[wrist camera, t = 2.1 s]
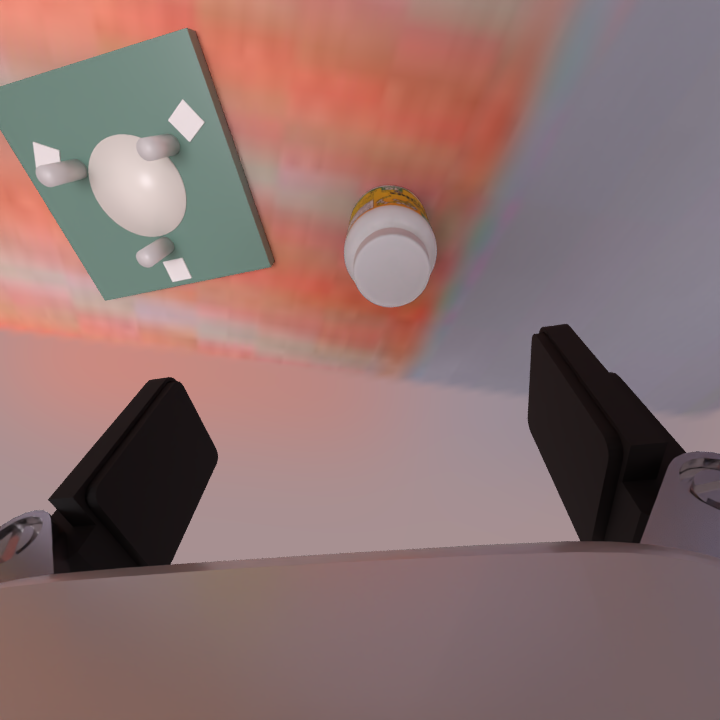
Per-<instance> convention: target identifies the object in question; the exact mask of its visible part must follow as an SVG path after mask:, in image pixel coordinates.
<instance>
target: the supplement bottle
mask: <svg viewBox="0 0 720 720" xmlns="http://www.w3.org/2000/svg"><path fill="white" fill-rule="evenodd" d="M436 256H437V244H436V239H435V236H434V233H433V230H432V228H431V225H430V223H429V221H428V218H427V215H426V213H425V210H424V208H423V206H422V204H421V202H420V201H419V199H418V198H417V197H416V196H415V195H414V194H413V193H412V192H410V191H409V190H407V189H405V188H402V187H399V186H391V185H384V186H379V187H375V188H373V189H371V190H369V191H368V192H366V193H365V194H364V195H363V196H362V197H361V198H360V199H359V200H358V202H357V203H356V205H355V207H354V209H353V212H352V215H351V218H350V223H349V227H348V231H347V236H346V240H345V245H344V260H345V265H346V268H347V271H348V273H349V275H350V276H351V278H352V279H353V281H354V282H355V284H356V286H357V288H358V290H359V291H360V293H361V294H362V295H363V296H364V297H365V298H366V299H368V300H369V301H370V302H372V303H374V304H376V305H379V306H383V307H399V306H402V305H405V304H408V303H410V302H412V301H413V300H415V299H416V298H417V297H418V296H419V295H420V294H421V293H422V292H423V290H424V289H425V287H426V285H427V283H428V280H429V277H430V274H431V272H432V270H433V268H434V265H435V262H436Z"/></svg>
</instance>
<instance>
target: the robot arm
mask: <svg viewBox="0 0 720 720" xmlns="http://www.w3.org/2000/svg"><path fill="white" fill-rule="evenodd" d="M528 405H529V406H528V424H529V428H530V431H531V434H532V436H533V438H534V440H535V442H536V444H537V446H538V449H539V451H540V453H541V455H542V458H543V460H544V462H545V464H546V467H547V469H548V471H549V473H550V475H551V477H552V480H553V482H554V484H555V486H556V488H557V491H558V493H559V495H560V497H561V499H562V502H563V504H564V506H565V508H566V510H567V513H568V515H569V517H570V519H571V521H572V524H573V526H574V528H575V530H576V532H577V535H578V536H579V539H580V541H578V542H576V541H574V542H573V541H572V542H570V541H566V542H541V543H518V544H495V545H473V546H457V547H440V548H424V549H406V550H389V551H374V552H373V551H372V552H355V553H340V554H323V555H308V556H292V557H277V558H262V559H246V560H232V561H217V562H202V563H187V564H174V565H170V564H171V562H172V560H173V558H174V555H175V553H176V551H177V549H178V547H179V545H180V542H181V540H182V538H183V536H184V534H185V531H186V529H187V527H188V525H189V523H190V521H191V518H192V516H193V514H194V511H195V510H196V507H197V505H198V503H199V501H200V499H201V497H202V494H203V492H204V490H205V488H206V486H207V483H208V481H209V479H210V477H211V475H212V473H213V470H214V468H215V466H216V464H217V460H218V454H217V450H216V448H215V446H214V444H213V442H212V440H211V438H210V436H209V434H208V432H207V431H206V429H205V427H204V425H203V423H202V421H201V419H200V417H199V415H198V413H197V411H196V409H195V407H194V405H193V403H192V402H191V400H190V398H189V396H188V394H187V392H186V390H185V388H184V386H183V385H182V384H181V383H180V382H178V381H176V380H175V379H174V378H171V377H168V378H161V379H153V380H149V381H148V382H147V383H146V384H145V385H144V387H143V388H142V389H141V390H140V391H139V392H138V394H137V395H136V396H135V397H134V398H133V400H132V401H131V402H130V403H129V404H128V406H127V407H126V408H125V409H124V410H123V412H122V413H121V414H120V415H119V416H118V417H117V419H116V420H115V421H114V422H113V423H112V425H111V426H110V427H109V428H108V429H107V430H106V432H105V433H104V434H103V435H102V436H101V438H100V439H99V440H98V441H97V442H96V443H95V445H94V446H93V447H92V448H91V449H90V451H89V452H88V453H87V454H86V455H85V457H84V458H83V459H82V460H81V461H80V463H79V464H78V465H77V466H76V467H75V468H74V470H73V471H72V472H71V473H70V474H69V475H68V477H67V478H66V479H65V480H64V481H63V483H62V484H61V485H60V486H59V487H58V489H57V490H56V491H55V492H54V493H53V494H52V496H51V497H50V498H49V499H48V500H49V501H50V502H51V503H52V504H53V505H54V507H56V509H57V510H56V511H55V512H54V514H53V515H52V516H51V515H50V514H49V513H48V512H45V511H43V510H36V511H31V512H28V513H24V514H22V515H20V516H18V517H15V518H13V519H11V520H10V521H8V522H7V523H5V524H3V525H2V526H0V720H720V454H717V453H713V452H699V451H696V452H690V453H686V452H685V451H684V450H683V449H682V447H681V446H680V445H679V444H678V443H677V442H676V441H675V439H674V438H673V437H672V436H671V435H670V434H669V433H668V431H667V430H666V429H665V428H664V427H663V426H662V425H661V424H660V422H659V421H658V420H657V419H656V418H655V416H654V415H653V414H652V413H651V412H650V411H649V410H648V408H647V407H646V406H645V405H644V404H643V403H642V402H641V400H640V399H639V398H638V397H637V396H636V395H635V394H634V392H633V391H632V390H631V389H630V388H629V387H628V386H627V384H626V383H625V382H624V381H623V380H622V379H621V378H620V377H619V376H618V375H617V374H616V373H612V372H610V373H609V372H608V371H607V370H606V368H605V367H604V366H603V365H602V364H601V363H600V361H599V360H598V359H597V358H596V357H595V356H594V354H593V353H592V352H591V351H590V350H589V348H588V347H587V346H586V345H585V344H584V343H583V341H582V340H581V339H580V338H579V337H578V335H577V334H576V333H575V332H574V331H573V330H572V328H571V327H570V326H569V325H568V324H562V325H555V326H548V327H542V328H541V329H540V332H539V334H534V335H533V337H532V346H531V365H530V384H529V403H528Z"/></svg>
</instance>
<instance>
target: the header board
mask: <svg viewBox="0 0 720 720" xmlns="http://www.w3.org/2000/svg"><path fill="white" fill-rule="evenodd" d="M0 130H1V132H2V133H3V135H4V136H5V138H6V140H7V141H8V143H9V145H10V146H11V148H12V150H13V151H14V153H15V154H16V156H17V158H18V159H19V161H20V163H21V164H22V166H23V167H24V169H25V171H26V172H27V174H28V176H29V177H30V179H31V181H32V182H33V184H34V185H35V187H36V189H37V190H38V192H39V194H40V195H41V197H42V198H43V200H44V202H45V203H46V205H47V207H48V208H49V210H50V212H51V213H52V215H53V216H54V218H55V220H56V221H57V223H58V225H59V226H60V228H61V229H62V231H63V233H64V234H65V236H66V238H67V239H68V241H69V243H70V244H71V246H72V247H73V249H74V251H75V252H76V254H77V256H78V257H79V259H80V260H81V262H82V264H83V265H84V267H85V269H86V270H87V272H88V274H89V275H90V277H91V278H92V280H93V282H94V283H95V285H96V287H97V288H98V290H99V291H100V293H101V295H102V296H103V298H104V300H105V301H106V300H111V299H116V298H121V297H126V296H131V295H136V294H141V293H146V292H150V291H155V290H160V289H165V288H170V287H175V286H180V285H185V284H190V283H195V282H200V281H205V280H210V279H215V278H219V277H224V276H229V275H234V274H239V273H244V272H249V271H254V270H259V269H264V268H269V267H271V266H272V265H273V263H274V262H275V261H274V258H273V256H272V253H271V250H270V247H269V244H268V241H267V238H266V235H265V232H264V229H263V226H262V224H261V221H260V218H259V215H258V212H257V209H256V206H255V203H254V200H253V197H252V195H251V192H250V189H249V186H248V183H247V180H246V177H245V174H244V171H243V168H242V165H241V163H240V160H239V157H238V154H237V151H236V148H235V145H234V142H233V139H232V136H231V133H230V131H229V128H228V125H227V122H226V119H225V116H224V113H223V110H222V107H221V104H220V102H219V99H218V96H217V93H216V90H215V87H214V84H213V81H212V78H211V75H210V72H209V70H208V67H207V64H206V61H205V58H204V55H203V52H202V49H201V46H200V43H199V41H198V38H197V35H196V32H195V31H194V30H191V29H188V28H185V29H182V30H178V31H175V32H172V33H169V34H166V35H162V36H159V37H156V38H153V39H150V40H147V41H143V42H140V43H137V44H134V45H131V46H128V47H124V48H121V49H118V50H115V51H112V52H108V53H105V54H102V55H99V56H96V57H93V58H89V59H86V60H83V61H80V62H77V63H74V64H70V65H67V66H64V67H61V68H58V69H54V70H51V71H48V72H45V73H42V74H39V75H35V76H32V77H29V78H26V79H23V80H20V81H16V82H13V83H10V84H7V85H4V86H0Z"/></svg>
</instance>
